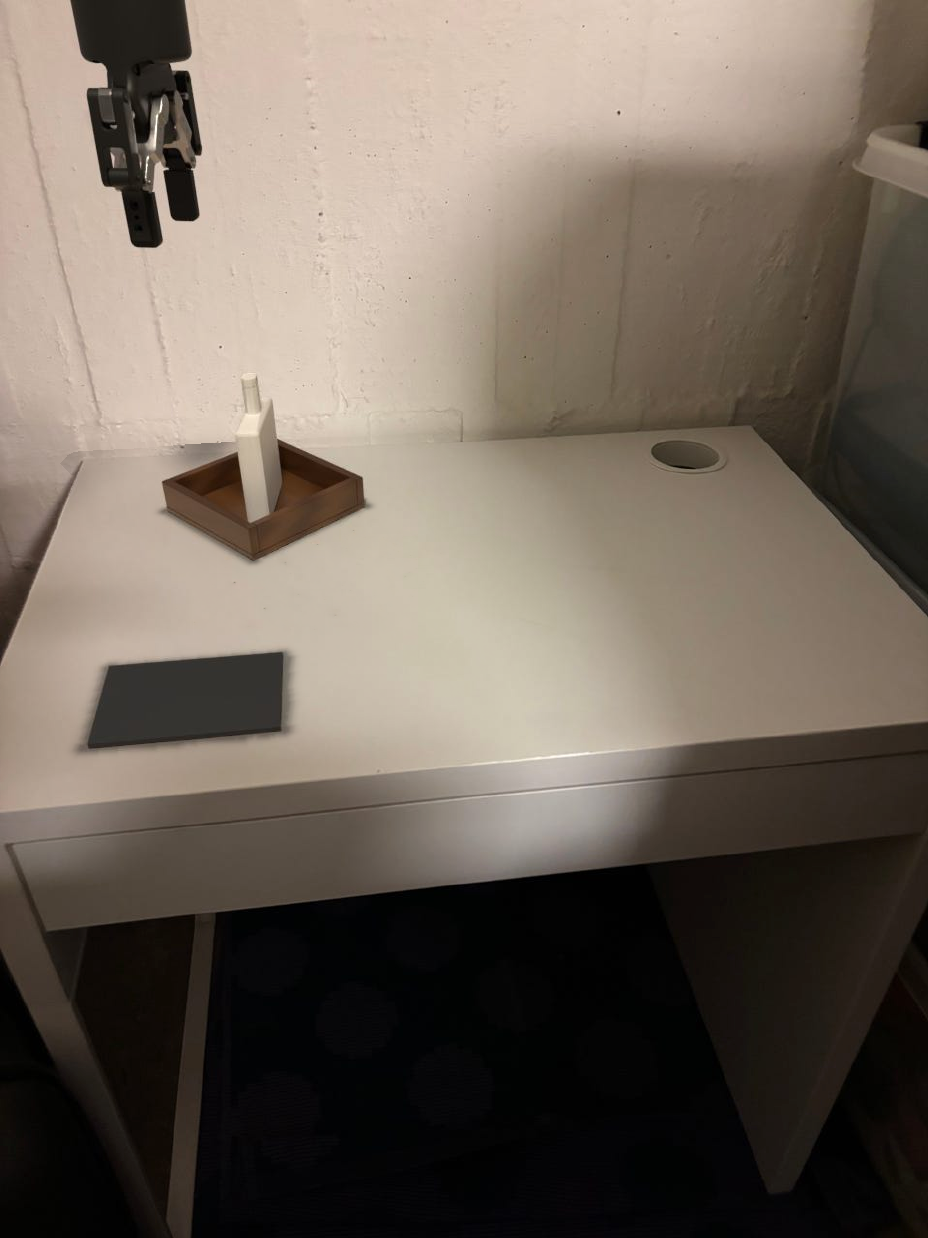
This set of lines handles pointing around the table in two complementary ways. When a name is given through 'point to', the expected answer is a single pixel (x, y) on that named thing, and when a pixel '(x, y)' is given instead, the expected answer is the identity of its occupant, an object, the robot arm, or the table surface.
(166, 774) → the table surface
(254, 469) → the perfume bottle
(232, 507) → the compartment
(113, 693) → the mat
